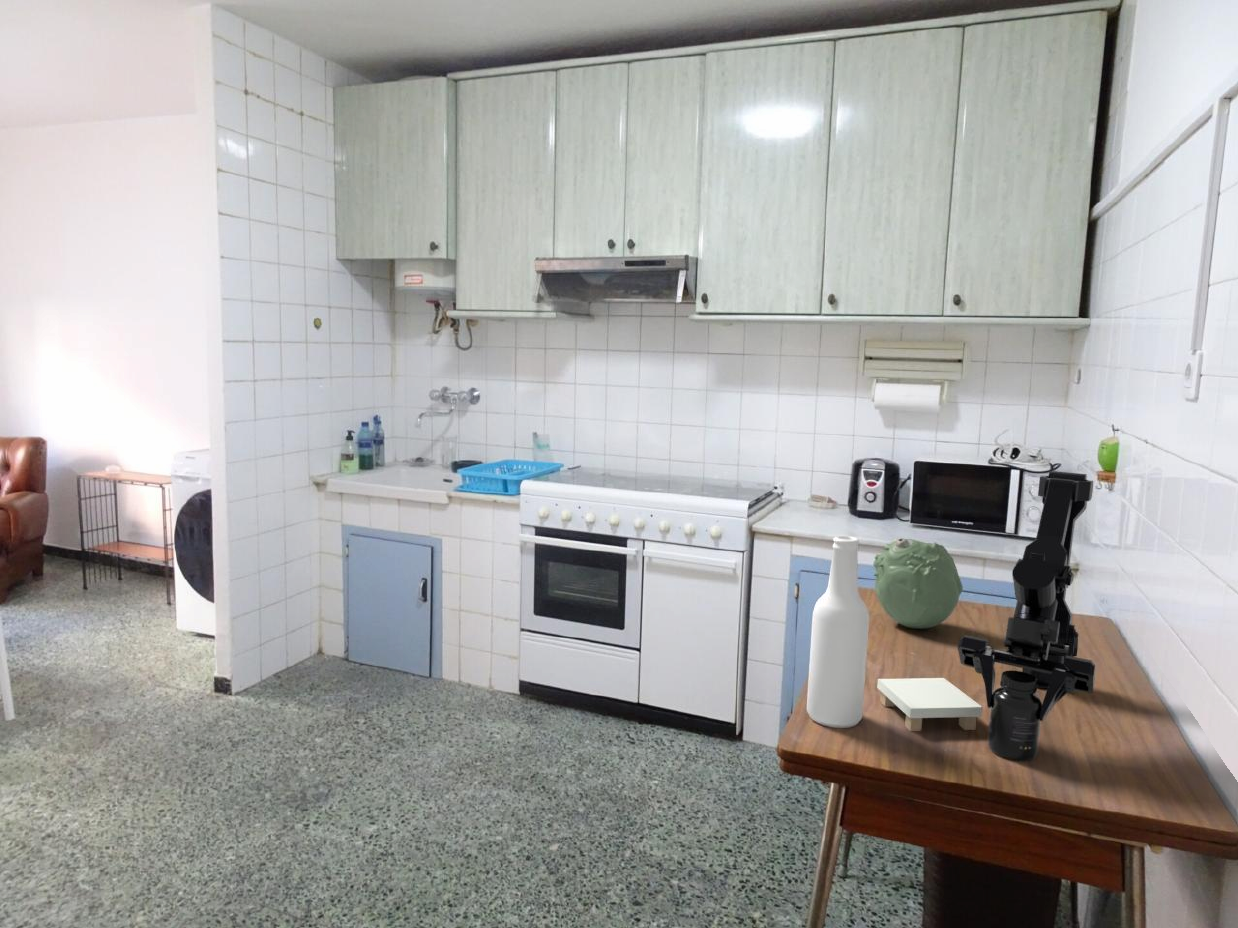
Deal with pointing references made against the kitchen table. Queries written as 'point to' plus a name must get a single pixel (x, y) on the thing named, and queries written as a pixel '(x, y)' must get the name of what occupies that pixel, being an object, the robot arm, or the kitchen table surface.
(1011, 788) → the kitchen table surface
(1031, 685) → the supplement bottle
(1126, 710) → the kitchen table surface
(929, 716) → the white square riser
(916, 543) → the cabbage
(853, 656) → the alcohol
